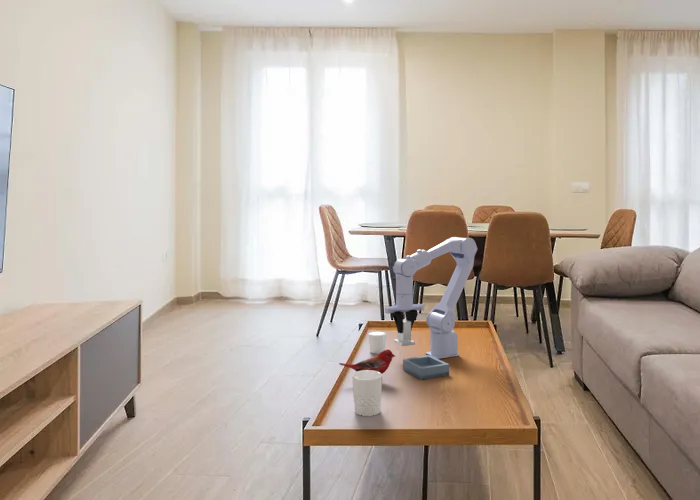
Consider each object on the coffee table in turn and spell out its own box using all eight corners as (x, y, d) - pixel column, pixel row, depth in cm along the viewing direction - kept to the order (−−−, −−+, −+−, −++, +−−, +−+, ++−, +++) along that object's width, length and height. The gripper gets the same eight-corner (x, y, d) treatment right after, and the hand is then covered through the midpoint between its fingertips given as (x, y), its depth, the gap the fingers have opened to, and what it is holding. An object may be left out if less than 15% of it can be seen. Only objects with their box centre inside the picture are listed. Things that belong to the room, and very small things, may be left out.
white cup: (351, 406, 140) (350, 370, 139) (380, 405, 140) (379, 369, 140) (354, 418, 132) (353, 380, 131) (384, 416, 133) (384, 379, 132)
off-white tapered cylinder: (385, 354, 189) (385, 335, 188) (367, 353, 190) (366, 335, 190) (387, 349, 196) (387, 331, 195) (370, 348, 197) (369, 330, 197)
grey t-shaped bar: (406, 340, 183) (406, 318, 182) (414, 344, 178) (415, 321, 177) (393, 342, 181) (393, 319, 181) (402, 346, 176) (402, 323, 175)
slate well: (429, 365, 175) (429, 355, 175) (449, 374, 165) (449, 364, 164) (403, 369, 171) (402, 359, 171) (421, 379, 160) (421, 368, 160)
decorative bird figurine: (396, 382, 159) (396, 350, 158) (339, 384, 157) (338, 352, 157) (395, 379, 161) (394, 348, 161) (338, 381, 160) (338, 350, 159)
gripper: (416, 290, 185) (416, 327, 186) (380, 293, 179) (380, 331, 180) (427, 293, 178) (426, 331, 179) (389, 296, 172) (390, 336, 173)
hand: (404, 332), depth 179 cm, fingers closed on grey t-shaped bar, 3 cm apart
